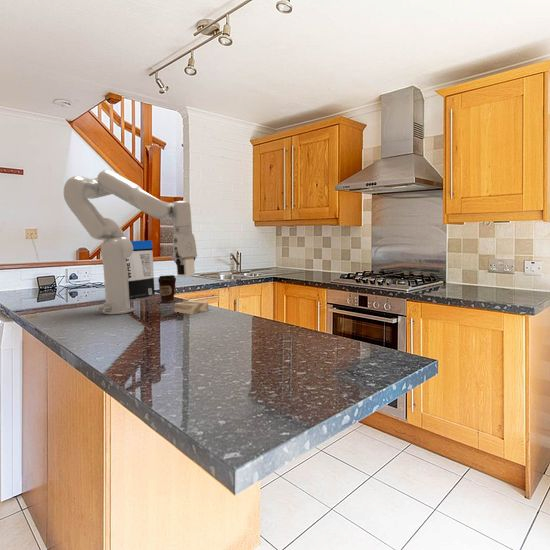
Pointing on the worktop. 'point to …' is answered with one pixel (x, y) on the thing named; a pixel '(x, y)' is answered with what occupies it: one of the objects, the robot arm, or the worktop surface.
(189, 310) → the block
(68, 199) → the robot arm
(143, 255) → the protein powder
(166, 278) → the coffee cup
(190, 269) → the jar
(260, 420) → the worktop surface
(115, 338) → the worktop surface
